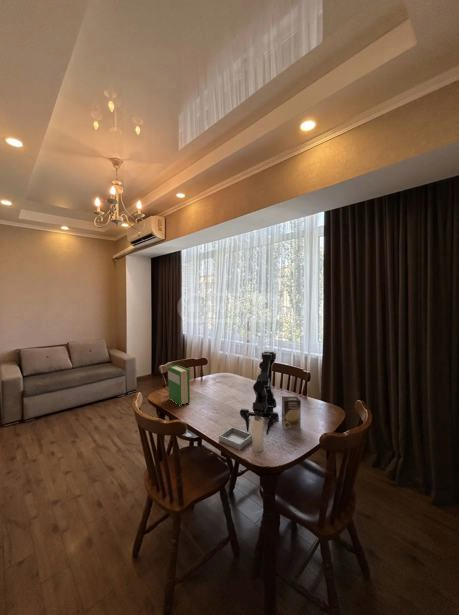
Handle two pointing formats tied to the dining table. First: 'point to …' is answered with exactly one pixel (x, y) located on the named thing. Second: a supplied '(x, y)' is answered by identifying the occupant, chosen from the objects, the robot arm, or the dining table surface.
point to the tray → (235, 438)
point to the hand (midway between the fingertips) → (257, 433)
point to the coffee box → (291, 412)
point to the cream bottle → (257, 433)
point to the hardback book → (178, 384)
